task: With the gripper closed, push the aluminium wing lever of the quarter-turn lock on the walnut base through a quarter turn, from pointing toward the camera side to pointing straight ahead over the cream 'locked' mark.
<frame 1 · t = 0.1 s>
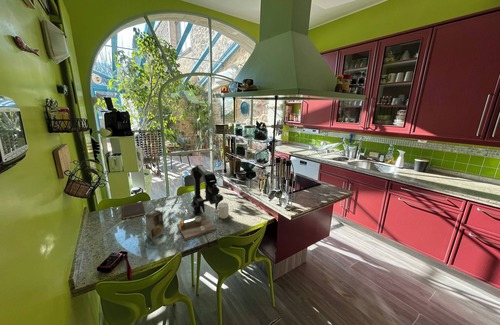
hand: (210, 210, 145), 15 cm above the table, fingers open, 9 cm apart
hardcover book: (133, 211, 172), on the table
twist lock: (191, 221, 150), point 4 cm above the table, hinge at 0.0°
lock base: (196, 228, 149), on the table
mug: (221, 216, 165), on the table
coffee box: (156, 234, 140), on the table
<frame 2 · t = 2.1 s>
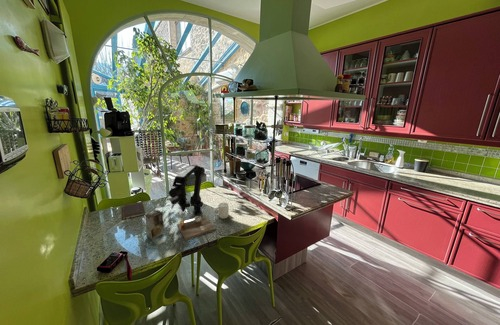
hand: (183, 211, 151), 11 cm above the table, fingers closed
nothing on the table moved.
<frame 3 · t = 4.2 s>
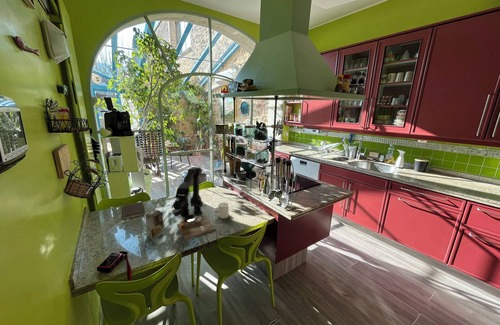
hand: (185, 222, 149), 4 cm above the table, fingers closed
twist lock: (191, 221, 149), point 4 cm above the table, hinge at 1.8°, touching gripper
everything else where it was.
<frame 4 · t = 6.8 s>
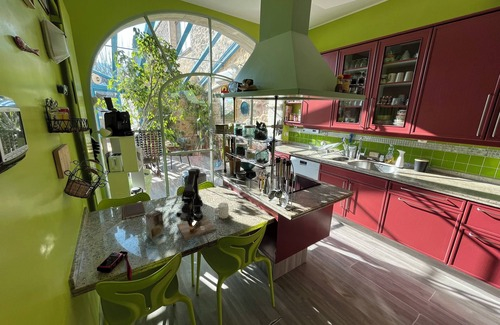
hand: (190, 226, 144), 4 cm above the table, fingers closed
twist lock: (195, 223, 147), point 4 cm above the table, hinge at 48.0°, touching gripper
everything else where it was.
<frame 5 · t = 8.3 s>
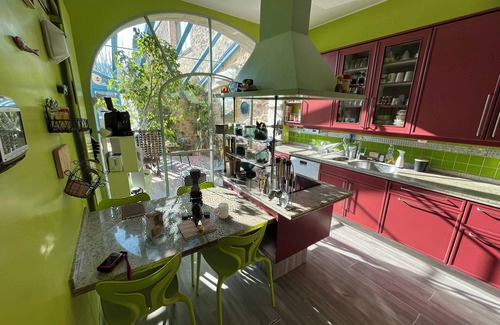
hand: (196, 226, 144), 4 cm above the table, fingers closed
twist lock: (198, 223, 148), point 4 cm above the table, hinge at 78.7°, touching gripper
everything else where it was.
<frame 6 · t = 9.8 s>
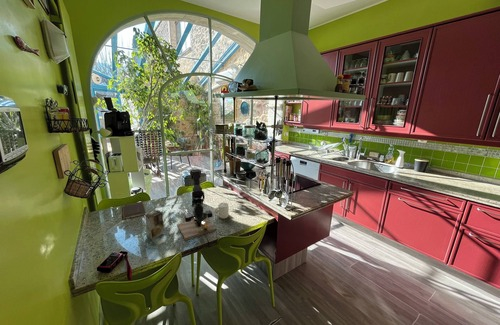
hand: (199, 226, 144), 4 cm above the table, fingers closed
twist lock: (201, 222, 149), point 4 cm above the table, hinge at 96.2°
everything else where it was.
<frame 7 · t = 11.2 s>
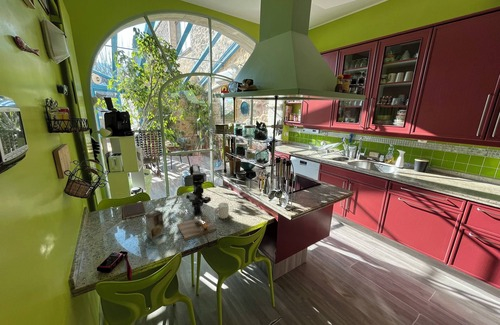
hand: (198, 208, 154), 12 cm above the table, fingers closed
nothing on the table moved.
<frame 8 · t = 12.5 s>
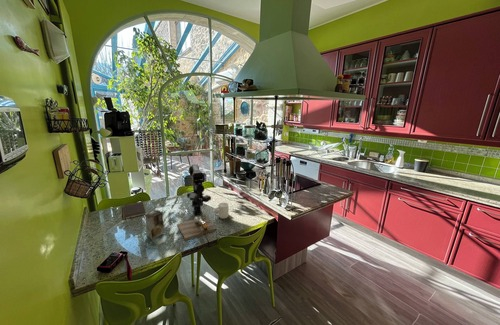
hand: (199, 206, 155), 12 cm above the table, fingers closed
nothing on the table moved.
at the end: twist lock at +96° (first picture: +0°) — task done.
